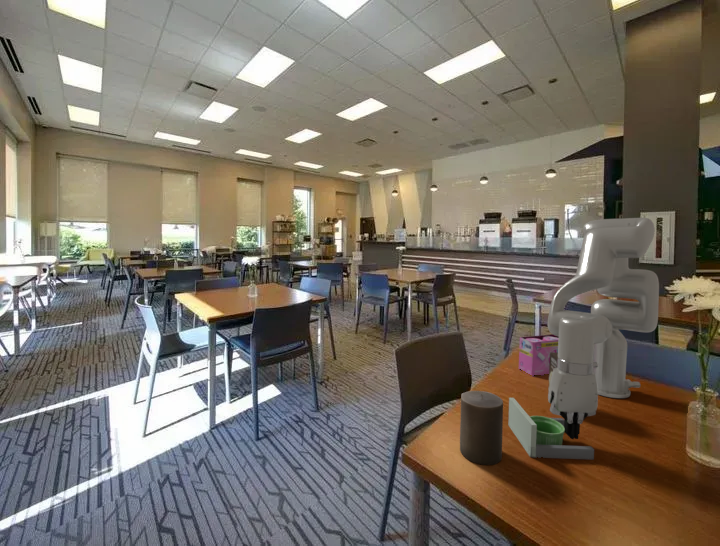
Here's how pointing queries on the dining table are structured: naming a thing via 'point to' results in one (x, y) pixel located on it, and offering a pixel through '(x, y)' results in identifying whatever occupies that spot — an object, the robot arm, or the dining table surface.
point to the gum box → (537, 353)
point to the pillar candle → (481, 427)
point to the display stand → (527, 437)
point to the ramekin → (548, 431)
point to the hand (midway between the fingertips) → (571, 435)
